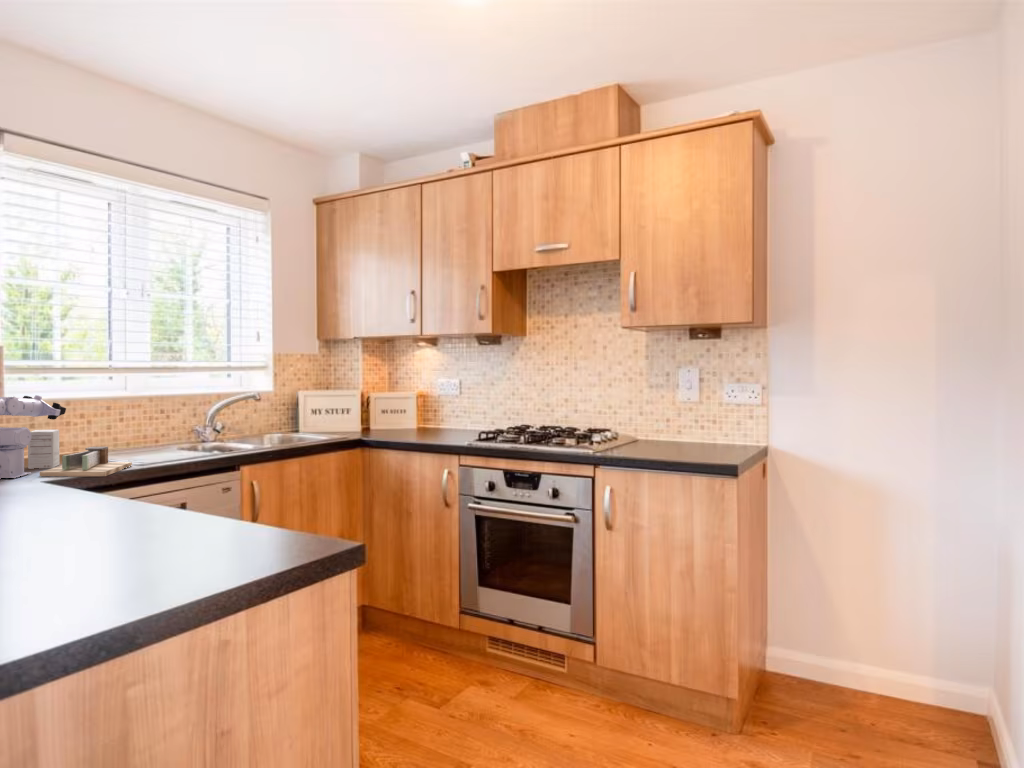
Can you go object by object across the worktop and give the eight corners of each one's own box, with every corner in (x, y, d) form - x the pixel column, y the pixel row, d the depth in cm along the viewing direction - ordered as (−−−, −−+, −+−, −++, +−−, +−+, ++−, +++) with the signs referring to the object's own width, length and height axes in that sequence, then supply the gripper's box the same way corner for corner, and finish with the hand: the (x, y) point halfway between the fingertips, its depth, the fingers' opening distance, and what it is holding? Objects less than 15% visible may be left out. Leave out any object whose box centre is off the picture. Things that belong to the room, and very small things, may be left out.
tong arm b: (66, 470, 201) (66, 455, 201) (62, 469, 201) (62, 455, 201) (94, 463, 215) (94, 450, 215) (91, 463, 215) (91, 449, 215)
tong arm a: (87, 469, 202) (87, 455, 202) (82, 469, 202) (82, 455, 202) (100, 463, 215) (100, 449, 215) (95, 463, 215) (95, 450, 215)
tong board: (105, 476, 201) (105, 454, 201) (39, 476, 198) (39, 454, 198) (132, 466, 221) (132, 446, 221) (72, 466, 217) (72, 446, 217)
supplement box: (34, 465, 218) (35, 429, 218) (60, 464, 221) (60, 429, 220) (27, 469, 211) (27, 431, 211) (53, 468, 214) (53, 431, 214)
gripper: (50, 400, 204) (77, 402, 217) (6, 389, 203) (36, 392, 217) (43, 421, 203) (71, 421, 217) (-1, 410, 203) (30, 411, 216)
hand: (53, 408), depth 217 cm, fingers open, 7 cm apart
